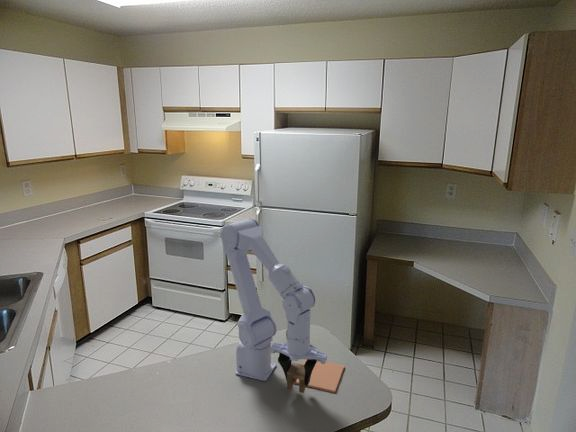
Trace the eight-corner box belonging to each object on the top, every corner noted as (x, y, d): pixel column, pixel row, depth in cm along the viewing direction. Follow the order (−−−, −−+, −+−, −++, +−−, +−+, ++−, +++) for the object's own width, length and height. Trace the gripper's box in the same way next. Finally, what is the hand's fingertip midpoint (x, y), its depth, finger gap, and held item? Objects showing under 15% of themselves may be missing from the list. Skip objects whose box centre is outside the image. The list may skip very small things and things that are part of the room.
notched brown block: (286, 389, 103) (287, 372, 102) (292, 378, 107) (292, 362, 106) (303, 393, 102) (303, 376, 100) (308, 382, 106) (308, 366, 105)
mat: (292, 383, 110) (292, 381, 109) (305, 359, 121) (305, 357, 120) (334, 392, 106) (335, 390, 106) (344, 367, 117) (344, 365, 117)
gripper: (266, 336, 100) (266, 384, 103) (322, 348, 95) (320, 397, 98) (276, 323, 106) (276, 368, 109) (329, 333, 101) (327, 380, 105)
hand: (298, 381), depth 104 cm, fingers closed on notched brown block, 4 cm apart
